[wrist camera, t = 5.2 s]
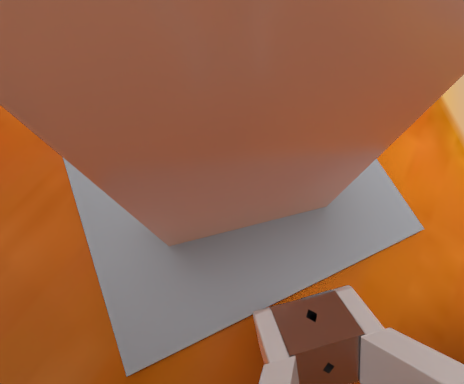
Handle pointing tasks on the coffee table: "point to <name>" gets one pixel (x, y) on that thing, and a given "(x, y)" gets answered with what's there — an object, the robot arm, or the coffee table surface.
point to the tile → (224, 97)
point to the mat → (226, 262)
